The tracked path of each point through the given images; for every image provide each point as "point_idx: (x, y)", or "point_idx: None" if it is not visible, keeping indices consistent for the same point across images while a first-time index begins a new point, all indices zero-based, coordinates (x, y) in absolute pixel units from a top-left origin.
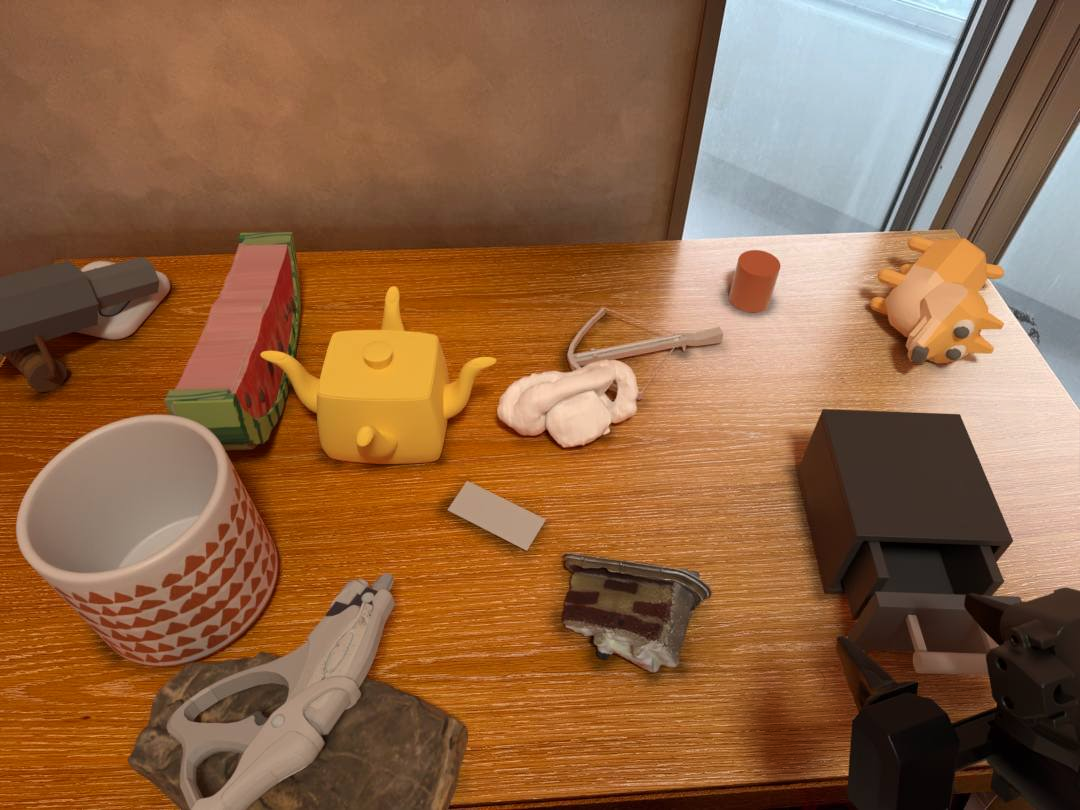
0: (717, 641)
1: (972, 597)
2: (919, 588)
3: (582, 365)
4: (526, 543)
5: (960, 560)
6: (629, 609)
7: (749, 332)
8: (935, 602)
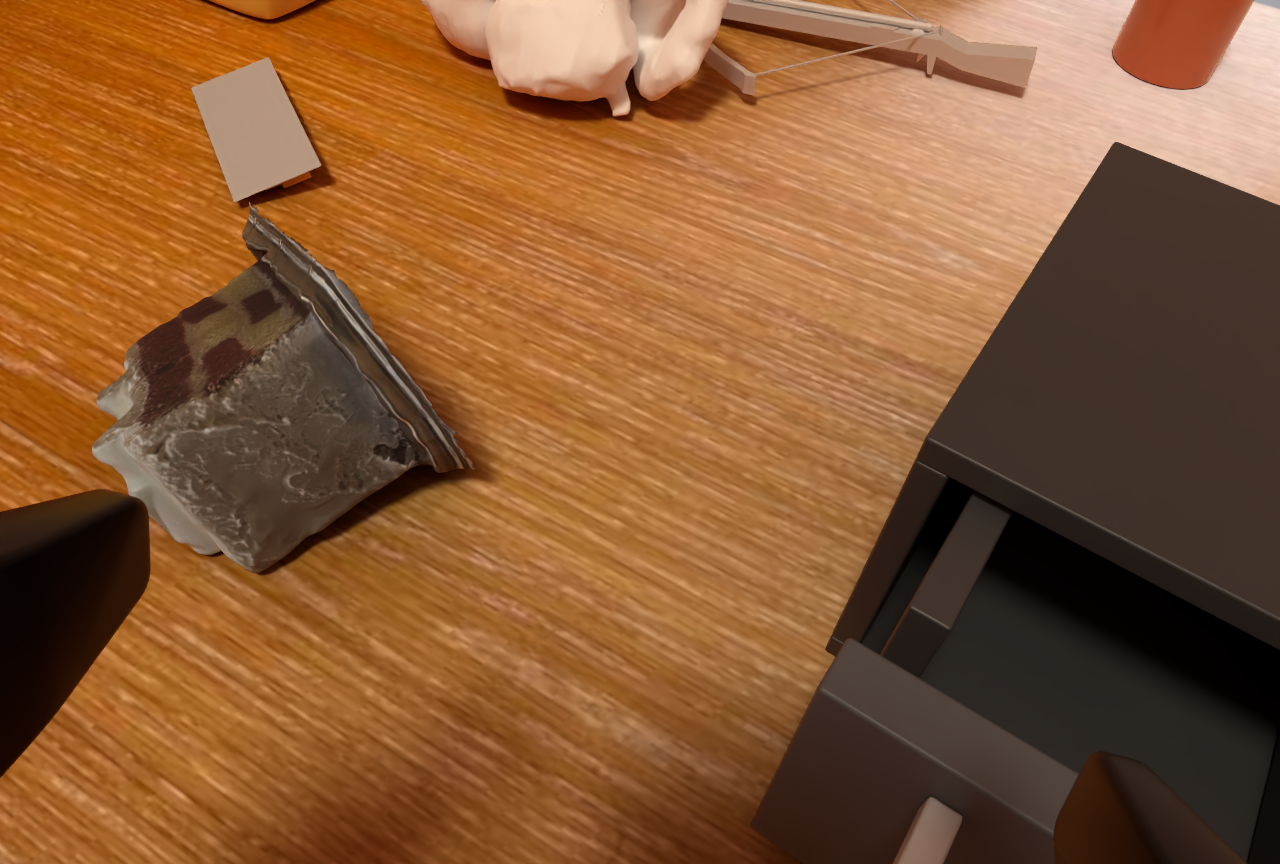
0: (426, 586)
1: (1115, 781)
2: None
3: None
4: (246, 190)
5: None
6: (207, 349)
7: (1111, 107)
8: None
